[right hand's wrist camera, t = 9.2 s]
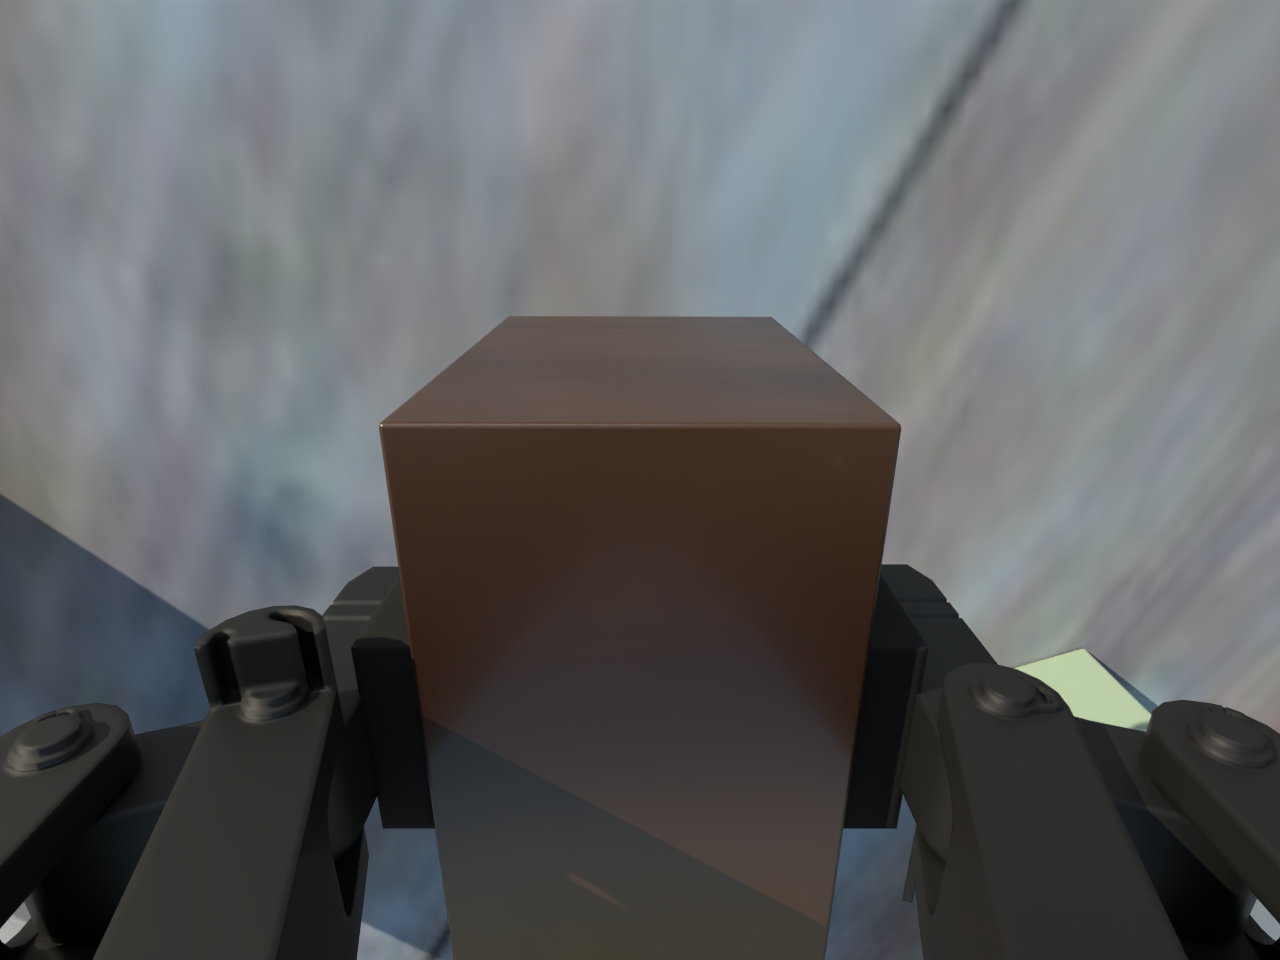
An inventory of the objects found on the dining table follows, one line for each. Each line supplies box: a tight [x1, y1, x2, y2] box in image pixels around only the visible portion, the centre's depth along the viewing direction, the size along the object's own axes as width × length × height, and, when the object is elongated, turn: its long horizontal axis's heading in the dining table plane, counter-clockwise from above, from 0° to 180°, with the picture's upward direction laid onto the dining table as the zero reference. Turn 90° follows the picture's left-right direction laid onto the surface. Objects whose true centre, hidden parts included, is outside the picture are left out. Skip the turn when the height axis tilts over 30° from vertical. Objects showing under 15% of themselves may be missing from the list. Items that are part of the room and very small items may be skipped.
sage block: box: [1014, 648, 1151, 732], centre depth 29 cm, size 5×5×5 cm
